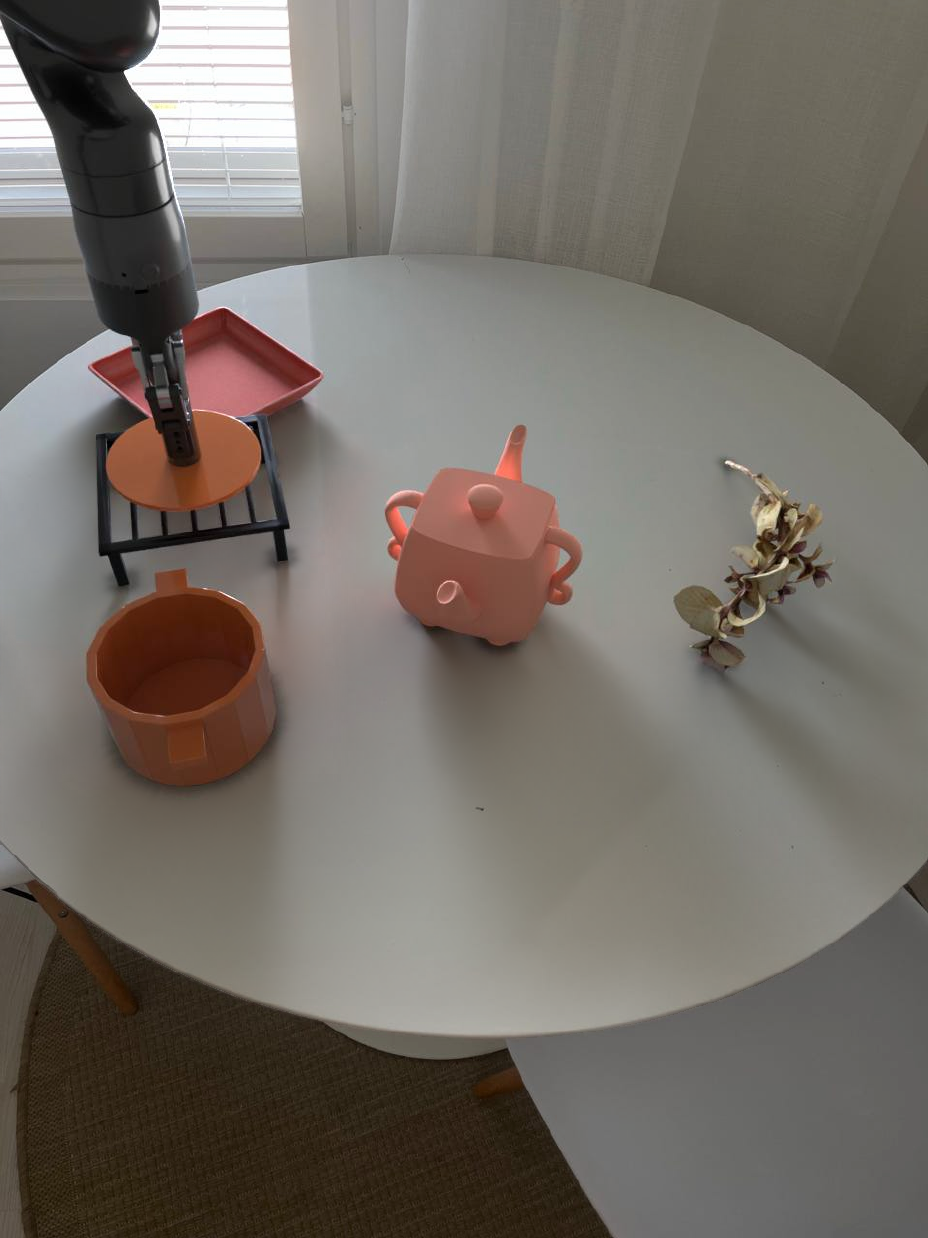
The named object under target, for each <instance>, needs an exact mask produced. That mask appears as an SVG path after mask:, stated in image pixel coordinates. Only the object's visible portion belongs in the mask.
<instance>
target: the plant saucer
mask: <svg viewBox="0 0 928 1238" xmlns="http://www.w3.org/2000/svg"><path fill="white" fill-rule="evenodd" d="M181 330H182V336H183V342H184V345H183V346H184V351H185V358H186V364H185V365H186V371H185V372H186V377H187V382H188V387H189V398H190V402H191V407H192V410H204V411H212V412H217V413H221V414H225V415H228V416H230V417H233V418H235V417H243V416H251V415H260V414H266V416H267V417H269V416H271V415H272V414H274V413H276V412H278V411H280V410H283V409H284V408H286V407H288V406H290V405H291V404H294V403H295V402H297V401H299V400H301V399H303V398H304V397H305V396H307V395H308V394H309V393H310V392H311V391H313V390H315V388H316V387H317V386H318V385H319V384H320V383H321V381H322V380H323V379H324V378H325V373H324V372H323V371H322V370H320V369H319V368H318V367H316V366H315V365H314V364H312V363H310V362H309V361H307V360H305V358H303V357H302V356H300V355H298V354H297V353H296V352H294V351H293V350H292V349H289V348H288V347H286V346H285V345H284V344H282V343H280V342H279V341H278V340H276V339H275V338H274V337H272V336H270V335H269V334H268V333H266V332H265V331H263V330H261V329H260V328H259V327H257V326H256V325H254V324H253V323H251V322H250V321H248V320H247V319H245V317H242V316H241V315H240V314H238V313H237V312H235V311H234V310H232V309H231V308H229V307H228V306H227V307H226V306H219V307H217V308H215V309H212V310H209V311H207V312H205V313H203V314H200V315H198V316H196V317H195V318H194V320H193V321H192V322H191V323H190V324H188V325H187V326H186V327H184V328H182V329H181ZM130 346H133V344H132V343H131V344H130V345H128V346H126V347H123V348H122V349H118V350H116V351H115V352H112V353H109V354H107V355H105V356H103V357H100V358H98V359H96V360H93V361H91V362H90V363H88V365H87V369H88V371H89V372H91V374H93V375H94V376H95V377H96V378H98V379H99V380H100V381H101V382H102V383H104V384H105V385H106V386H108V387H109V388H110V389H111V390H112V391H113V392H115V393H116V394H117V395H119V396H120V397H121V398H122V399H123V400H124V401H126V402H127V403H128V404H129V405H131V406H132V407H133V408H135V409H136V410H137V411H138V412H139V413H141V414H142V415H143V416H145V418H147V419H149V418H151V417H153V416H152V413H151V410H150V407H149V404H148V401H147V400H146V399H145V395H144V390H143V386H142V381H141V377H140V373H139V371H138V370H137V369H136V368H135V366H134V362H133V358H132V354H131V347H130ZM149 381H150V380H149ZM150 384H151V385H152V383H151V381H150Z"/></svg>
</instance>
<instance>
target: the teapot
mask: <svg viewBox="0 0 928 1238" xmlns="http://www.w3.org/2000/svg"><path fill="white" fill-rule="evenodd" d="M527 435H528V430H527V427H526V425H524V424H517V425H516V426H515V427H514V428H513V429H512V430H511V432H510V434H509V436H508V439H507V441H506V443H505V446H504V450H503V453H502V455H501V457H500V460H499V463H498V465H497V467H496V468H495V471H494V473H493V474H492V473H488V472H483V471H477V470H471V469H465V468H459V467H445V468H444V467H443V468H441V469H440V470H439V471H438V472H437V473H436V474H435V476H434V477H433V479H432V480H431V482H430V483H429V485H428V488H427V489H426V491H425V493H422V492H420V491H416V490H409V489H408V490H400V491H398V492H395V493H394V494H393V495H391V496H390V497H389V499H388V500H387V502H386V504H385V506H384V517H385V521H386V523H387V525H388V527H389V530H390V531H391V533H392V535H393V536H392V537H391V538H390V539H389V540H388V542H387V553H388V555H389V556H390V558H392V559H393V560H394V561H396V569H395V577H394V594H395V597H396V599H397V601H398V603H399V604H400V606H401V607H402V608H403V609H404V611H406V612H407V613H409V614H410V615H412V616H414V617H417V619H418V621H419V622H420V623H421V624H422V625H425V626H427V627H440V628H443V629H446V630H449V631H452V632H456V633H459V634H463V635H467V636H471V637H476V638H480V639H481V638H482V639H485V640H486V641H487V642H488V643H490V644H491V645H494V646H498V647H499V646H500V647H501V646H506V645H508V644H510V643H518V642H522V641H525V640H526V639H527V638H528V636H529V635H530V634H531V633H532V632H533V630H535V628H536V626H537V624H538V622H539V620H540V618H541V616H542V614H543V612H544V610H545V607H546V605H547V603H548V604H549V605H553V606H564V605H566V604H568V603H569V602H570V601H571V599H572V597H573V593H574V589H573V586H572V585H571V584H570V583H569V582H567V580H568V579H569V578H570V577H571V576H572V575H574V573H575V572H576V571H577V570H578V568H579V567H580V565H581V562H582V560H583V548H582V545H581V543H580V541H578V539H577V538H576V537H575V536H574V535H573V534H572V533H570V532H568V531H567V530H565V529H563V528H561V525H560V519H559V518H560V517H559V512H558V506H557V502H556V498H555V497H554V495H552V494H551V493H549V492H547V491H545V490H544V489H541V488H539V487H536V486H533V485H530V484H528V483H524V482H523V473H522V469H523V468H522V467H523V466H522V465H523V464H522V461H523V453H524V447H525V444H526V440H527ZM399 507H407V508H410V509H414V510H415V511H414V515H413V517H412V519H411V522H410V524H409V527H407V525H406V523H405V522H404V520H403V518H402V516H401V513H400V510H399ZM561 549H562V550H563V551H565V552H566V553H567V554H568V555H569V557H570V558H569V559H568V561H566V563H565V564H564V565H562V566H561V567H560V568H559V569H558V566H559V561H560V555H561Z"/></svg>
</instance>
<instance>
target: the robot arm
mask: <svg viewBox="0 0 928 1238" xmlns="http://www.w3.org/2000/svg"><path fill="white" fill-rule="evenodd" d="M0 23H1V26H2V29H3V32H4V34H5V37H6V38H7V41H8V43H9V46H10V48H11V51H12V53H13V54H14V57H15V59H16V61H17V63H18V65H19V68H20V69H21V72H22V75H23V77H24V79H25V81H26V83H27V85H28V87H29V90H30V92H31V94H32V95H33V98H34V100H35V102H36V104H37V107H39V109H40V111H41V113H42V115H43V116H44V119H45V121H46V123H47V125H48V127H49V130H50V132H51V135H52V139H53V142H54V143H53V144H54V147H55V152H56V156H57V159H58V163H59V167H60V171H61V175H62V178H63V181H64V186H65V189H66V192H67V196H68V199H69V203H70V208H71V214H72V215H71V216H72V222H73V230H74V234H75V238H76V241H77V246H78V248H79V252H80V256H81V259H82V263H83V266H84V270H85V273H86V277H87V281H88V284H89V287H90V291H91V294H92V298H93V302H94V305H95V309H96V312H97V315H98V318H99V320H100V322H101V323H102V324H103V325H104V326H105V327H106V328H107V329H108V330H110V331H112V332H114V333H115V334H118V335H121V336H126V337H129V338H130V340H131V345H132V344H133V346H130V345H129V346H130V347H131V354H132V358H133V362H134V366H135V368H136V369H137V370H138V371H139V373H140V377H141V381H142V386H143V390H144V395H145V399H146V400H147V401H148V404H149V407H150V410H151V413H152V416H153V419H154V422H155V428H156V430H157V431H158V433H159V434H163V436H164V440H165V444H166V448H167V452H168V456H169V457H170V458H172V459H179V458H186V457H192V456H193V455H194V453H195V452H194V445H193V441H192V436H191V432H190V427H189V426H191V425H190V420H189V419H190V415H189V413H187V408H186V403H185V400H186V399H187V398H188V397H189V387H188V382H187V377H186V372H185V371H186V365H185V364H186V358H185V351H184V346H183V345H184V342H183V336H182V330H181V329H182V328H184V327H186V326H187V325H188V324H190V323H191V322H192V321H193V320H194V318H196V317H197V315H198V313H199V310H200V300H199V295H198V289H197V285H196V284H197V283H196V278H195V273H194V269H193V268H194V267H193V263H192V262H193V261H192V257H191V251H190V247H189V241H188V237H187V231H186V226H185V221H184V217H183V214H182V211H181V208H180V205H179V202H178V199H177V196H176V191H175V188H174V181H173V176H172V171H171V167H170V166H171V165H170V161H169V156H168V155H169V154H168V151H167V144H166V141H165V136H164V132H163V129H162V125H161V123H160V122H161V121H160V120H159V117H158V115H157V113H156V111H155V110H154V108H153V107H152V106H151V105H150V104H149V102H148V101H147V100H146V99H145V98H144V97H143V96H142V95H141V94H140V93H139V92H138V90H136V89H135V87H134V86H133V85H132V83H131V81H130V79H129V78H128V76H127V73H126V72H128V71H131V70H134V69H136V68H138V67H139V66H141V65H142V64H143V63H145V62H146V61H147V59H149V57H150V56H151V55H152V54H153V53H154V51H155V50H156V47H157V45H158V43H159V40H160V37H161V33H162V25H163V11H162V4H161V0H0ZM149 380H150V381H151V383H152V385H151V384H150V381H149Z"/></svg>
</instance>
